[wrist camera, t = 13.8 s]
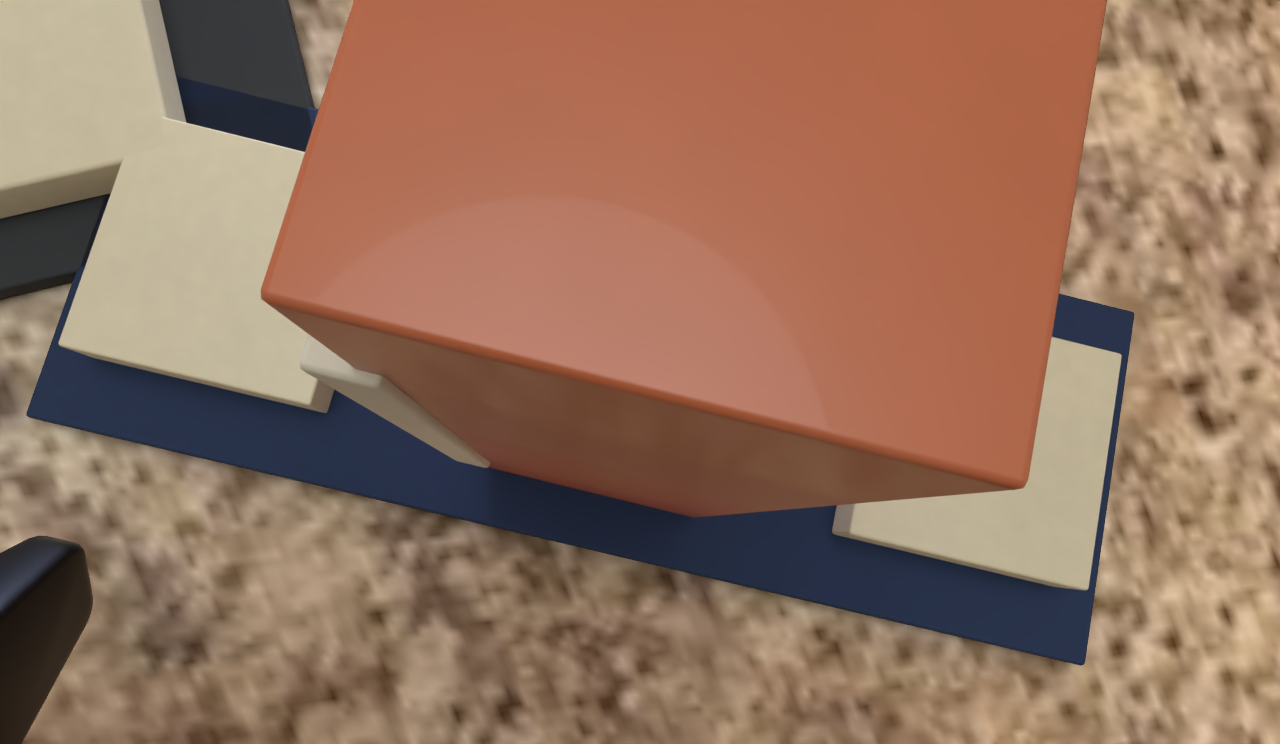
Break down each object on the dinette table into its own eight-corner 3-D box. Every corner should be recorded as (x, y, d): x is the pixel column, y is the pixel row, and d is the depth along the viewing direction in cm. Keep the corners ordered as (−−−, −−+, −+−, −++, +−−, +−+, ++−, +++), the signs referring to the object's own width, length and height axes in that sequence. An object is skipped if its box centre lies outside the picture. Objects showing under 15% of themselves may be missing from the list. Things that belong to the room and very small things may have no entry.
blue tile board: (1121, 317, 19) (1173, 297, 18) (1072, 663, 18) (1122, 676, 16) (158, 78, 19) (118, 33, 17) (38, 419, 17) (-17, 407, 16)
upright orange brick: (695, 524, 18) (1028, 511, 5) (466, 467, 17) (175, 302, 5) (754, 262, 18) (1168, -340, 6) (537, 207, 18) (460, -537, 6)
